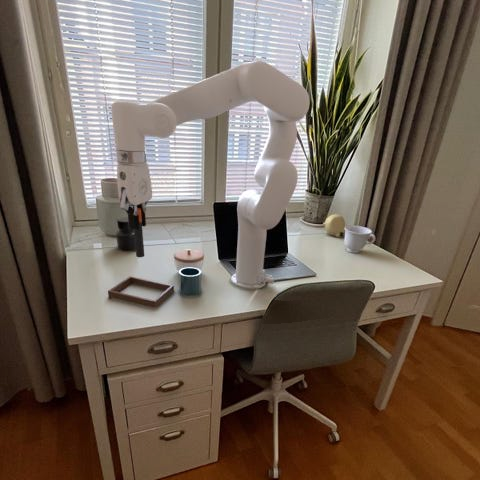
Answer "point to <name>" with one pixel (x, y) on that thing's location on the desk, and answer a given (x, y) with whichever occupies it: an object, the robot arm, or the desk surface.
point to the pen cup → (190, 281)
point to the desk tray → (139, 300)
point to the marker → (139, 237)
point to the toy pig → (335, 225)
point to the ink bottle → (125, 235)
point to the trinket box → (188, 259)
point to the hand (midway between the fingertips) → (137, 226)
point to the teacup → (357, 238)
